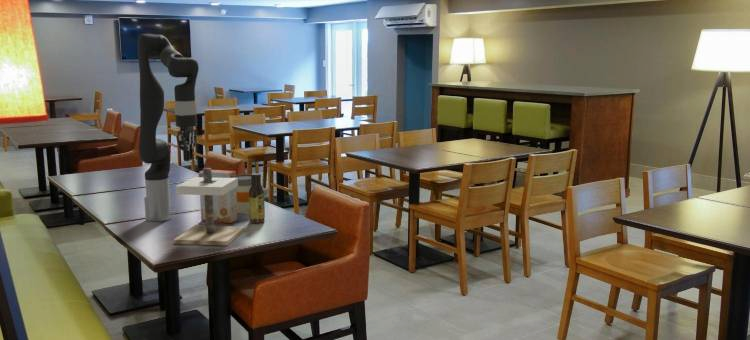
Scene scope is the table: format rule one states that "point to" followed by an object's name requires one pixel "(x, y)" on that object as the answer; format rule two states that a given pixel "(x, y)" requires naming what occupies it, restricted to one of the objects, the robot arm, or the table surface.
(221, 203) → the cracker box
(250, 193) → the sauce bottle
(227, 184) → the off-white slab
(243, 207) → the reusable coffee cup
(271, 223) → the table surface
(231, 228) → the pipe stand
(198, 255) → the table surface
